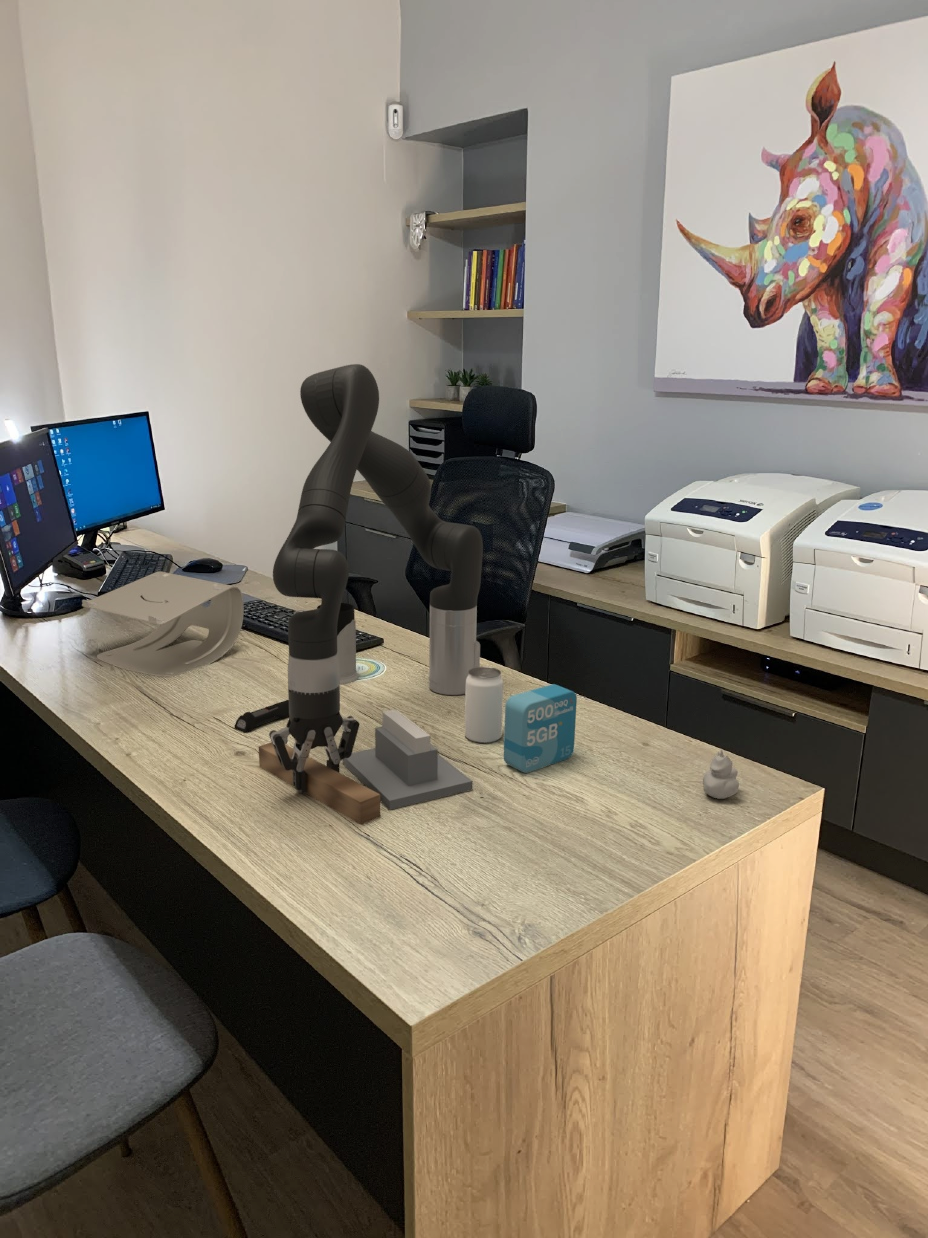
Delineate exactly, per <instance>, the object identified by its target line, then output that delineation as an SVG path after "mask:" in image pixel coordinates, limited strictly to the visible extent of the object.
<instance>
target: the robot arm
mask: <svg viewBox="0 0 928 1238" xmlns="http://www.w3.org/2000/svg"><path fill="white" fill-rule="evenodd" d="M378 386H379V385H378V383H377V380H376V378H375V376H374V375H373V373H372V372H371V370H370V369H369V368H368V367H366V366H365V365H363V364H360V363H354V364H346V365H342V366H339V367H334V368H330V369H326V370H323V371H319V372H316V373H313V374H310V375H309V376H306V378H305V379H304V380H303V382H302V383H301V385H300V388H299V389H300V391H299V393H300V394H299V395H300V400H301V401H300V402H301V404H302V407H303V409H304V412H305V414H306V416H307V418H308V419H309V420H310V422H311V423H312V424H313V425H314V427H315V428H316V429H317V430H318V431H319V433H321V434H322V436H324V437H325V439H327V440H328V441H329V442H330V443H329V445H328V446H327V447H326V449H325V450H324V452H323V453H322V454H321V455H320V457H319V458H318V460H317V461H316V462H315V464H314V465H313V466H312V468H311V470H310V472H309V473H308V475H307V477H306V478H305V481H304V483H303V487H302V490H301V494H300V499H299V505H298V509H297V515H296V520H295V522H294V523H293V526H292V528H291V530H290V531H289V534H288V535H287V537H286V540H285V541H284V543H283V545H282V546H281V548H280V550H279V551H278V553H277V556H276V558H275V560H274V563H273V568H272V579H273V584H274V586H275V588H276V590H277V591H278V592H279V593H280V594H281V595H283V596H285V597H290V598H308V599H321V603H320V605H321V606H320V608H318V609H317V608H315V609H314V608H313V609H309V610H307V611H298V612H297V613H296V614H294V613H293V614H294V615H293V614H292V615H291V616H290V617H289V619H288V625H287V636H288V637H287V638H288V660H287V661H288V662H287V691H288V694H287V695H288V700H289V716H288V721H287V722H286V726H285V727H283V728H281V729H279V730H275V729H273V730H271V731H270V732H269V734H268V736H269V738H270V741H271V742H272V744H273V747H274V749H275V752H276V754H277V757H278V760H279V762H280V764H281V765H282V766H283V767H284V768H285V770H293V785H294V786H293V787H294V788H295V789H296V791H298V792H299V793H300V794H306V773H305V770H304V766H305V763H306V759H307V758H308V757H310V753H311V750H313V749H316V748H318V747H319V748H320V747H321V748H324V750H325V751H324V752H325V753H326V756H327V758H328V759H327V760H326V766H327V767H329V768H331V769H333V770H335V771H337V772H339V773H340V772H341V771H340V769H341V768H340V764H341V761H342V759H344V758H349V757H350V756H351V754H352V753H353V750H354V747H355V742H356V739H357V735H358V732H359V729H360V724H361V723H360V722H359V721H358V720H357V719H356V718H354V717H353V716H352V715H350V716H349V715H348V716H347V717H343V715H341V712H340V710H341V694H340V693H341V687H340V673H339V662H338V654H337V623H338V616H339V611H340V606H341V603H343V602H342V601H343V597H344V595H345V591H346V588H347V584H348V581H349V580H348V579H349V575H350V567H349V563H348V560H347V558H346V557H345V555H344V554H343V553H342V552H340V551H338V550H335V549H330V548H329V549H327V548H326V549H325V548H322V549H321V548H318V547H322V546H327V545H330V544H334V543H336V542H338V541H339V540H340V539H341V538H342V536H343V534H344V530H345V524H346V519H347V514H348V507H349V501H350V496H351V491H352V487H353V483H354V480H355V476H356V473H357V472H358V473H359V474H360V476H362V477H363V479H364V480H365V482H367V484H368V485H369V487H370V488H371V489H372V490H373V492H374V493H375V495H376V496H378V498H379V499H380V501H381V502H382V503H383V505H385V507H386V508H387V509H388V510H389V511H390V512H391V513H392V515H393V517H394V518H395V519H396V520H397V522H399V525H401V527H403V529H404V531H405V532H406V533H407V535H408V536H409V538H410V539H411V541H412V543H413V544H414V546H415V548H416V549H417V551H418V553H419V555H420V556H421V558H422V559H423V560H424V562H425V563H426V564H428V566H430V567H433V568H434V569H438V570H444V571H449V572H451V574H450V581H449V583H448V584H444V585H440V586H437V587H435V588H433V589H432V590H431V591H430V593H429V644H428V645H429V649H428V650H429V653H428V654H429V655H428V656H429V661H428V662H429V663H428V664H429V665H428V668H429V669H428V688H429V690H431V691H432V692H434V693H437V694H440V695H447V696H456V695H457V696H458V695H459V696H460V695H465V693H466V679H467V676H468V675H469V673H468V671H469V670H470V669H472V668H475V667H481V664H480V663H481V662H480V661H481V660H480V659H481V644H480V642H479V641H478V640H477V617H478V615H477V613H478V610H477V607H478V606H477V605H478V595H479V593H480V590H481V584H482V583H481V582H482V581H481V579H482V569H483V568H482V567H483V555H484V553H483V552H484V546H483V545H484V542H483V537H482V534H481V531H480V530H479V529H478V527H475V526H473V525H470V524H469V525H468V524H463V523H456V522H449V521H446V520H443V519H441V518H440V517H439V516H438V515H437V514H436V513H435V512H434V510H433V509H432V507H431V506H430V500H431V496H432V484H431V481H430V477H429V476H428V474H427V473H426V471H425V470H424V468H423V467H422V465H421V464H420V462H419V461H418V460H417V459H416V457H415V456H414V455H413V453H411V451H410V450H408V449H407V448H405V446H402V445H401V444H399V443H397V442H395V441H394V440H391V439H390V438H387V437H385V436H383V435H380V434H378V433H377V432H374V431H372V430H373V427H374V424H375V421H376V419H377V415H378V412H379V411H378V410H379V405H380V390H379V387H378ZM340 728H341V730H342V733H341V736H340V740H339V744H338V745H337V742H336V740H335V736H336V735H337V733H338V731H339V730H340ZM289 736H292V738H293V739H294V743H293V747H292V748H293V750H294V752H293V756H292V759H290V757H289V755H288V752H287V749H286V747H285V744H286V745H288V741H289V739H288V738H289Z"/></svg>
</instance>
